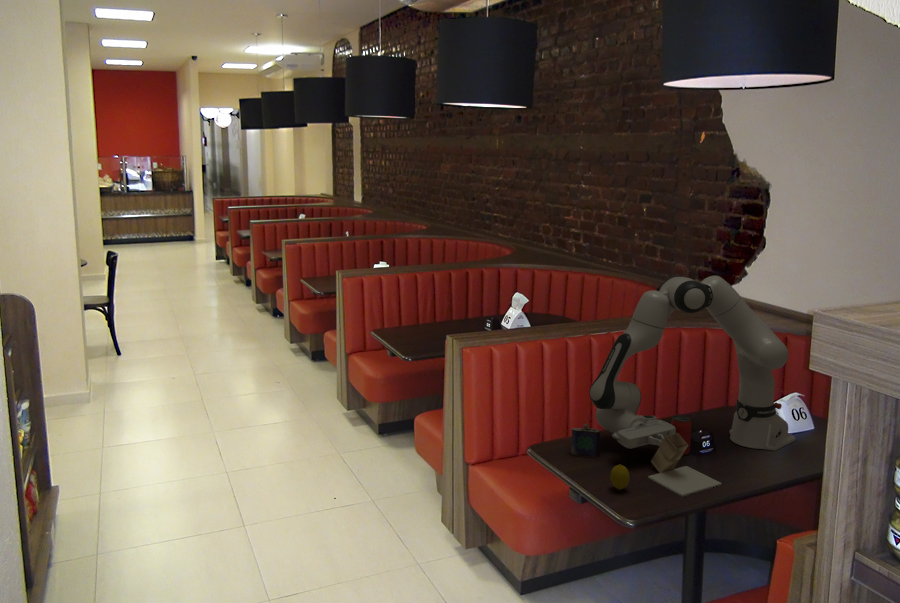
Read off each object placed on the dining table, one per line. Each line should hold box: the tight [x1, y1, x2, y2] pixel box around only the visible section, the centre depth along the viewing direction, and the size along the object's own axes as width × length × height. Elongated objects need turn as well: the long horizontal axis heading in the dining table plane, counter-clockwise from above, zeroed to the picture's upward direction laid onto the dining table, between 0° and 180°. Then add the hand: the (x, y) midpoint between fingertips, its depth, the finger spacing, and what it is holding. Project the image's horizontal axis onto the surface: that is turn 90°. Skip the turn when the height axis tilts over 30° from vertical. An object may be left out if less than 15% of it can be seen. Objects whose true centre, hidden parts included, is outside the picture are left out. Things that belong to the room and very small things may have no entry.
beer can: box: [670, 414, 692, 456], centre depth 235 cm, size 7×7×12 cm
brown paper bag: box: [650, 433, 688, 473], centre depth 220 cm, size 5×5×12 cm
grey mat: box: [647, 465, 723, 498], centre depth 215 cm, size 16×14×1 cm
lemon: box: [609, 464, 630, 491], centre depth 209 cm, size 6×6×8 cm
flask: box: [570, 423, 601, 458], centre depth 234 cm, size 9×3×11 cm, turn 76°
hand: (664, 443), depth 221 cm, fingers closed
